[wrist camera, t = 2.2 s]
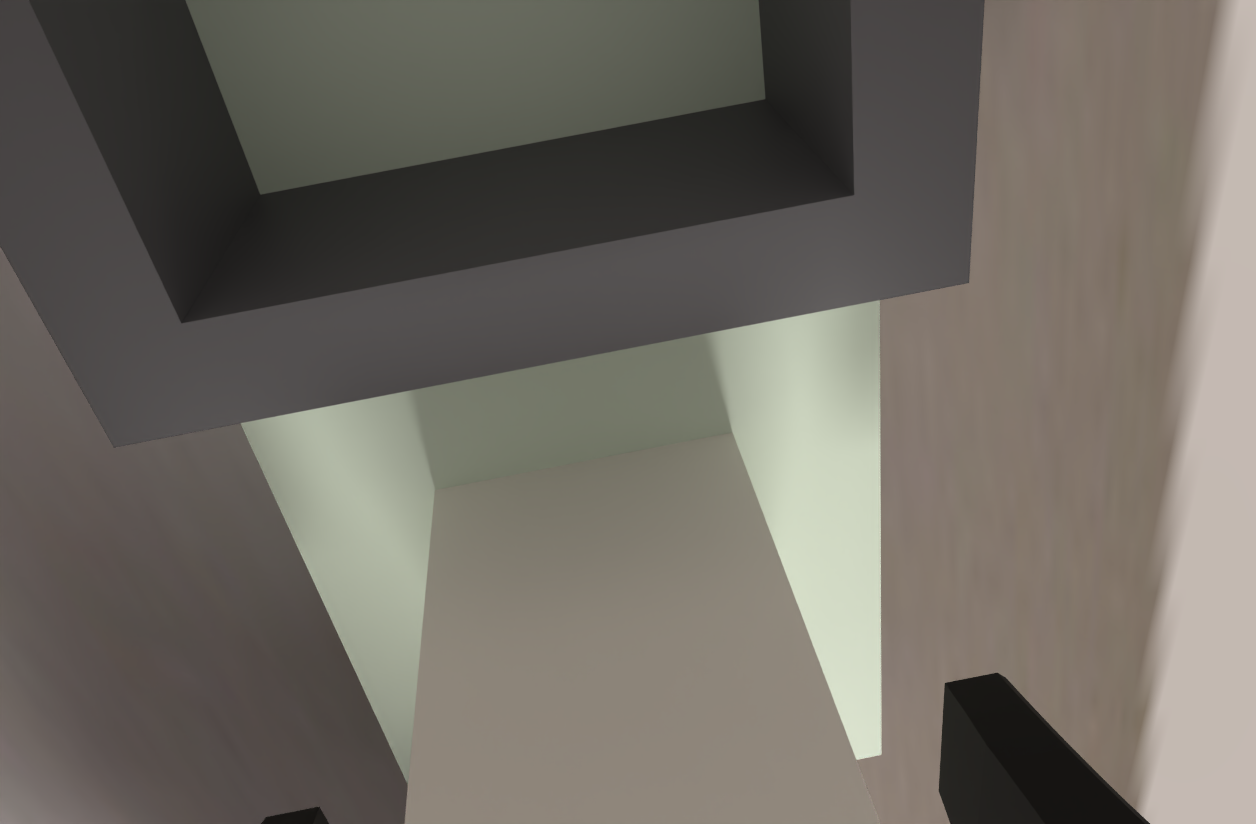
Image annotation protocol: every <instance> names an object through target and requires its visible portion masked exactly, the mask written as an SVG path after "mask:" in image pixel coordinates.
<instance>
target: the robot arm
mask: <svg viewBox="0 0 1256 824" xmlns="http://www.w3.org/2000/svg"><path fill="white" fill-rule="evenodd" d="M939 793H940V796H941V798H942V801H943V804H944V807H945V810H946V812H947V815H948V818H949V821H950V823H951V824H1150V823H1149V822H1148V821H1147V820H1145V819H1144V818H1143V817H1142V816H1141V815H1140V814H1139V813H1138V812H1137V811H1136V810H1135V809H1134V808H1133V807H1132V806H1130V805H1129V804H1128V803H1127V802H1126V801H1125V800H1124V799H1123V798H1122V797H1121V796H1120V795H1119V794H1118V793H1117V792H1116V791H1115V790H1114V789H1113V788H1112V787H1111V786H1110V785H1109V784H1108V783H1107V782H1106V781H1105V780H1104V779H1103V778H1102V777H1101V776H1100V775H1099V774H1098V773H1097V772H1096V771H1095V770H1094V769H1093V768H1092V767H1091V766H1090V765H1089V764H1088V763H1087V762H1086V761H1085V760H1084V759H1083V758H1082V757H1081V756H1080V755H1079V754H1078V753H1077V752H1076V751H1075V750H1074V749H1073V748H1072V747H1071V746H1070V745H1069V744H1068V743H1067V742H1066V741H1065V740H1064V739H1063V738H1062V737H1061V736H1060V735H1059V734H1058V733H1057V732H1056V731H1055V730H1054V729H1053V728H1052V727H1051V726H1050V725H1049V724H1048V722H1047V721H1046V720H1045V719H1044V718H1043V717H1042V716H1041V715H1040V714H1039V713H1038V712H1037V711H1036V710H1035V709H1034V708H1033V707H1032V706H1031V704H1030V703H1029V702H1028V701H1027V700H1026V699H1025V698H1024V697H1023V696H1022V695H1021V694H1020V693H1019V692H1018V691H1017V689H1016V688H1015V687H1014V686H1013V685H1012V684H1011V683H1010V682H1009V681H1008V680H1007V679H1006V678H1005V677H1004V676H1002V675H1000V674H999V673H994V674H988V675H983V676H978V677H973V678H968V679H963V680H958V681H953V682H948V683H945V690H944V708H943V725H942V743H941V761H940V779H939ZM261 824H329V823H328V821H327V819H326V818H325V816H324V814H323V812H322V811H321V809H320V807H315V808H310V809H305V810H300V811H295V812H290V813H285V814H280V815H275V816H270V817H266V818H265V819H264V821H263V822H262V823H261Z"/></svg>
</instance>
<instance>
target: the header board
mask: <svg viewBox="0 0 1256 824" xmlns="http://www.w3.org/2000/svg"><path fill="white" fill-rule="evenodd" d="M983 18H984V0H0V246H1V248H2V250H3V252H4V253H5V255H6V257H7V259H8V261H9V262H10V264H11V266H12V268H13V269H14V271H15V273H16V275H17V277H18V278H19V280H20V282H21V284H22V285H23V287H24V289H25V291H26V292H27V294H28V296H29V298H30V300H31V301H32V303H33V305H34V307H35V308H36V310H37V312H38V314H39V316H40V317H41V319H42V321H43V323H44V324H45V326H46V328H47V330H48V331H49V333H50V335H51V337H52V339H53V340H54V342H55V344H56V346H57V347H58V349H59V351H60V353H61V355H62V356H63V358H64V360H65V362H66V363H67V365H68V367H69V369H70V370H71V372H72V374H73V376H74V378H75V379H76V381H77V383H78V385H79V386H80V388H81V390H82V392H83V394H84V395H85V397H86V399H87V401H88V402H89V404H90V406H91V408H92V409H93V411H94V413H95V415H96V417H97V418H98V420H99V422H100V424H101V425H102V427H103V429H104V431H105V433H106V434H107V436H108V438H109V440H110V441H111V443H112V445H113V447H114V448H115V447H120V446H125V445H130V444H135V443H141V442H146V441H151V440H156V439H161V438H167V437H172V436H177V435H182V434H187V433H192V432H198V431H203V430H208V429H213V428H218V427H224V426H229V425H234V424H239V423H240V424H241V426H242V428H243V430H244V433H245V435H246V437H247V439H248V441H249V443H250V446H251V448H252V450H253V452H254V454H255V456H256V458H257V461H258V463H259V465H260V467H261V469H262V471H263V474H264V476H265V478H266V480H267V482H268V484H269V487H270V489H271V491H272V493H273V495H274V497H275V499H276V502H277V504H278V506H279V508H280V510H281V512H282V515H283V517H284V519H285V521H286V523H287V525H288V527H289V530H290V532H291V534H292V536H293V538H294V540H295V543H296V545H297V547H298V549H299V551H300V553H301V556H302V558H303V560H304V562H305V564H306V566H307V568H308V571H309V573H310V575H311V577H312V579H313V581H314V584H315V586H316V588H317V590H318V592H319V594H320V597H321V599H322V601H323V603H324V605H325V607H326V609H327V612H328V614H329V616H330V618H331V620H332V622H333V625H334V627H335V629H336V631H337V633H338V635H339V638H340V640H341V642H342V644H343V646H344V648H345V650H346V653H347V655H348V657H349V659H350V661H351V663H352V666H353V668H354V670H355V672H356V674H357V676H358V678H359V681H360V683H361V685H362V687H363V689H364V691H365V694H366V696H367V698H368V700H369V702H370V704H371V707H372V709H373V711H374V713H375V715H376V717H377V719H378V722H379V724H380V726H381V728H382V730H383V732H384V735H385V737H386V739H387V741H388V743H389V745H390V748H391V750H392V752H393V754H394V756H395V758H396V760H397V763H398V765H399V767H400V769H401V771H402V773H403V776H404V778H405V780H406V782H407V784H408V780H409V768H410V757H411V746H412V735H413V724H414V713H415V702H416V691H417V680H418V669H419V658H420V647H421V636H422V625H423V614H424V603H425V592H426V581H427V570H428V559H429V548H430V537H431V526H432V515H433V504H434V493H435V490H438V489H443V488H448V487H453V486H459V485H464V484H469V483H474V482H479V481H484V480H490V479H495V478H500V477H505V476H510V475H515V474H520V473H526V472H531V471H536V470H541V469H546V468H551V467H557V466H562V465H567V464H572V463H577V462H582V461H587V460H593V459H598V458H603V457H608V456H613V455H618V454H623V453H629V452H634V451H639V450H644V449H649V448H654V447H660V446H665V445H670V444H675V443H680V442H685V441H690V440H696V439H701V438H706V437H711V436H716V435H721V434H727V433H732V432H733V435H734V438H735V440H736V443H737V446H738V448H739V451H740V454H741V456H742V459H743V461H744V464H745V467H746V469H747V472H748V475H749V477H750V480H751V483H752V485H753V488H754V491H755V493H756V496H757V498H758V501H759V504H760V506H761V509H762V512H763V514H764V517H765V520H766V522H767V525H768V528H769V530H770V533H771V535H772V538H773V541H774V543H775V546H776V549H777V551H778V554H779V557H780V559H781V562H782V565H783V567H784V570H785V572H786V575H787V578H788V580H789V583H790V586H791V588H792V591H793V594H794V596H795V599H796V602H797V604H798V607H799V609H800V612H801V615H802V617H803V620H804V623H805V625H806V628H807V631H808V633H809V636H810V639H811V641H812V644H813V646H814V649H815V652H816V654H817V657H818V660H819V662H820V665H821V668H822V670H823V673H824V676H825V678H826V681H827V684H828V686H829V689H830V691H831V694H832V697H833V699H834V702H835V705H836V707H837V710H838V713H839V715H840V718H841V721H842V723H843V726H844V728H845V731H846V734H847V736H848V739H849V742H850V744H851V747H852V750H853V752H854V755H855V758H856V760H858V759H863V758H868V757H873V756H878V755H881V503H880V300H883V299H888V298H893V297H898V296H904V295H909V294H914V293H919V292H924V291H930V290H935V289H940V288H945V287H950V286H955V285H961V284H966V283H969V273H970V255H971V237H972V218H973V200H974V182H975V164H976V146H977V127H978V109H979V91H980V73H981V54H982V36H983Z"/></svg>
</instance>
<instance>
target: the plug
mask: <svg viewBox="0 0 1256 824" xmlns="http://www.w3.org/2000/svg"><path fill="white" fill-rule="evenodd" d="M405 824H880V821H879V818H878V816H877V813H876V810H875V808H874V805H873V802H872V800H871V797H870V795H869V792H868V789H867V787H866V784H865V781H864V779H863V776H862V773H861V771H860V768H859V765H858V763H857V760H856V758H855V755H854V752H853V750H852V747H851V744H850V742H849V739H848V736H847V734H846V731H845V728H844V726H843V723H842V721H841V718H840V715H839V713H838V710H837V707H836V705H835V702H834V699H833V697H832V694H831V691H830V689H829V686H828V684H827V681H826V678H825V676H824V673H823V670H822V668H821V665H820V662H819V660H818V657H817V654H816V652H815V649H814V646H813V644H812V641H811V639H810V636H809V633H808V631H807V628H806V625H805V623H804V620H803V617H802V615H801V612H800V609H799V607H798V604H797V602H796V599H795V596H794V594H793V591H792V588H791V586H790V583H789V580H788V578H787V575H786V572H785V570H784V567H783V565H782V562H781V559H780V557H779V554H778V551H777V549H776V546H775V543H774V541H773V538H772V535H771V533H770V530H769V528H768V525H767V522H766V520H765V517H764V514H763V512H762V509H761V506H760V504H759V501H758V498H757V496H756V493H755V491H754V488H753V485H752V483H751V480H750V477H749V475H748V472H747V469H746V467H745V464H744V461H743V459H742V456H741V454H740V451H739V448H738V446H737V443H736V440H735V438H734V435H733V432H732V433H727V434H721V435H716V436H711V437H706V438H701V439H696V440H690V441H685V442H680V443H675V444H670V445H665V446H660V447H654V448H649V449H644V450H639V451H634V452H629V453H623V454H618V455H613V456H608V457H603V458H598V459H593V460H587V461H582V462H577V463H572V464H567V465H562V466H557V467H551V468H546V469H541V470H536V471H531V472H526V473H520V474H515V475H510V476H505V477H500V478H495V479H490V480H484V481H479V482H474V483H469V484H464V485H459V486H453V487H448V488H443V489H438V490H435V493H434V504H433V515H432V526H431V537H430V548H429V559H428V570H427V581H426V592H425V603H424V614H423V625H422V636H421V647H420V658H419V669H418V680H417V691H416V702H415V713H414V724H413V735H412V746H411V757H410V768H409V780H408V791H407V802H406V813H405Z"/></svg>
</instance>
